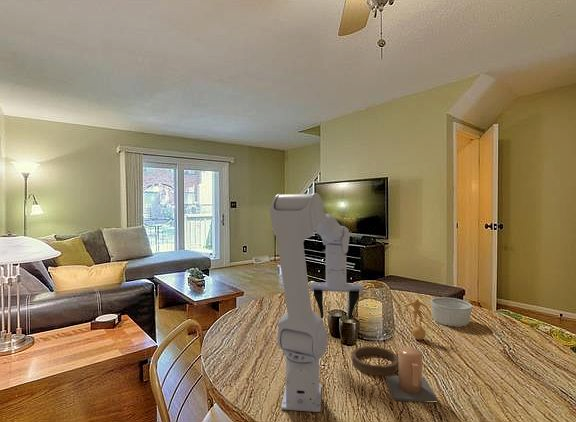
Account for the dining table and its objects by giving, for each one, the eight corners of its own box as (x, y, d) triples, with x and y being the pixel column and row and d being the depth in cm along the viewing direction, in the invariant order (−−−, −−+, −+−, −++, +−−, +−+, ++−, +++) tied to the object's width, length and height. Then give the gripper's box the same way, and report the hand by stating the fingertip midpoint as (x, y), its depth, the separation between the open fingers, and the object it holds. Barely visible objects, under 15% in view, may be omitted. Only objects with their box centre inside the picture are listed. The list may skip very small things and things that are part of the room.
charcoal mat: (438, 403, 65) (438, 400, 65) (394, 400, 66) (394, 397, 66) (424, 379, 74) (424, 377, 74) (385, 377, 75) (385, 375, 75)
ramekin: (480, 329, 105) (480, 308, 105) (441, 328, 106) (441, 308, 105) (459, 315, 119) (459, 297, 118) (424, 315, 119) (424, 297, 119)
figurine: (406, 341, 95) (406, 302, 95) (401, 333, 101) (401, 296, 101) (435, 342, 95) (435, 303, 94) (428, 334, 101) (428, 297, 100)
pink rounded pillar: (396, 380, 73) (396, 346, 73) (418, 381, 73) (418, 347, 72) (403, 397, 66) (403, 360, 66) (427, 399, 66) (428, 361, 66)
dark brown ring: (403, 376, 75) (403, 368, 75) (354, 373, 77) (354, 365, 77) (392, 354, 87) (392, 347, 87) (350, 352, 88) (350, 345, 88)
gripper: (360, 266, 90) (360, 313, 90) (310, 265, 92) (310, 311, 92) (363, 271, 83) (363, 322, 83) (309, 270, 85) (309, 320, 85)
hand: (335, 317), depth 87 cm, fingers open, 7 cm apart
